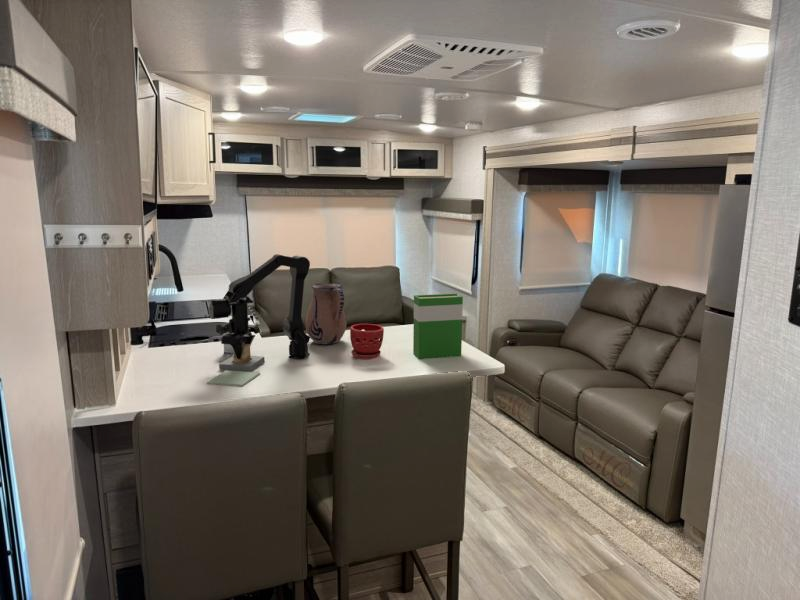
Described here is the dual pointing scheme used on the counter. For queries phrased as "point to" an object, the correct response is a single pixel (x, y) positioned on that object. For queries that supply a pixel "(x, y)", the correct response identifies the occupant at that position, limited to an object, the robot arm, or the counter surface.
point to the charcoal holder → (242, 364)
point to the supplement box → (228, 346)
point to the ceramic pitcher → (326, 314)
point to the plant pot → (366, 340)
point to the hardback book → (437, 326)
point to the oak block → (243, 355)
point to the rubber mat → (233, 378)
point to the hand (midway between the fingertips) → (242, 356)
